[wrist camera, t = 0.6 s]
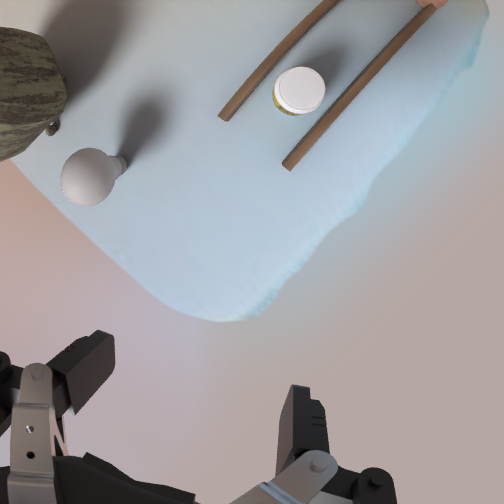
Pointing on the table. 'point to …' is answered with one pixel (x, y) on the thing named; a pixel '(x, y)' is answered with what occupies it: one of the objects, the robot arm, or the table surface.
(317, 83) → the supplement bottle
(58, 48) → the table surface
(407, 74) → the table surface
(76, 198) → the lightbulb
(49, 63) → the tabletop clock
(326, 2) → the guide track
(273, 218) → the table surface
